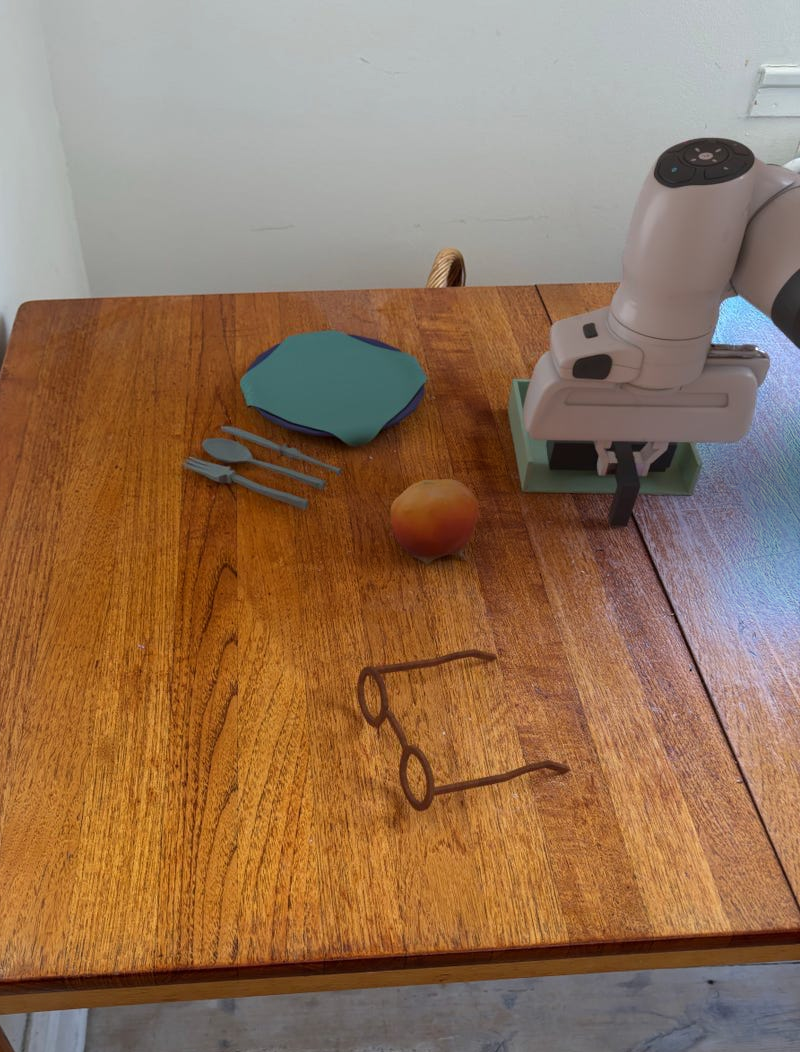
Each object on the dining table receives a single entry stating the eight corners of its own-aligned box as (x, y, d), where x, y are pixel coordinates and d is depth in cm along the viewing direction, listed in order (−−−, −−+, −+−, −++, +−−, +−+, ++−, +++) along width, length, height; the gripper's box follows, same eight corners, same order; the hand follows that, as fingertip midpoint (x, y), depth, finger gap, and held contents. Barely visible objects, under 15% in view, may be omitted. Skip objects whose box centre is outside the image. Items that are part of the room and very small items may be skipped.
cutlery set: (454, 379, 118) (456, 361, 117) (318, 527, 101) (318, 508, 99) (304, 330, 125) (304, 313, 123) (152, 461, 107) (150, 443, 106)
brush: (544, 451, 107) (553, 409, 103) (662, 453, 107) (676, 411, 102) (556, 525, 100) (566, 484, 96) (681, 527, 100) (697, 487, 96)
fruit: (424, 583, 93) (408, 496, 91) (387, 569, 100) (372, 488, 98) (502, 558, 95) (488, 473, 93) (461, 546, 103) (447, 467, 100)
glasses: (352, 698, 86) (354, 658, 82) (494, 657, 89) (502, 616, 85) (418, 826, 78) (424, 787, 74) (572, 775, 81) (585, 735, 77)
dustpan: (692, 495, 104) (702, 464, 102) (522, 492, 104) (528, 461, 102) (646, 366, 120) (654, 336, 118) (499, 363, 121) (503, 334, 118)
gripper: (766, 326, 92) (721, 453, 102) (534, 322, 92) (512, 450, 102) (787, 365, 88) (738, 494, 98) (543, 361, 88) (519, 491, 98)
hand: (620, 472), depth 100 cm, fingers closed on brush
